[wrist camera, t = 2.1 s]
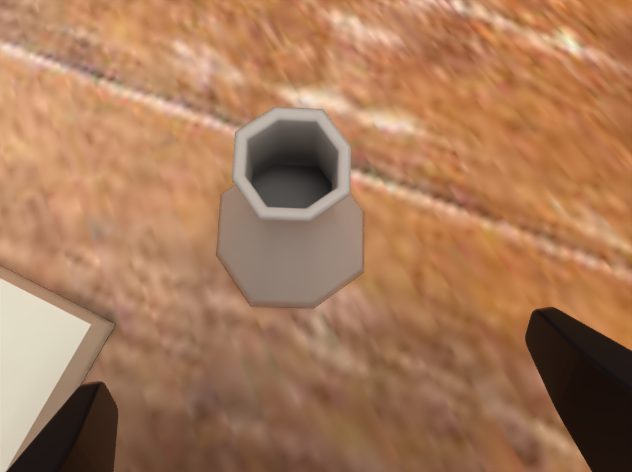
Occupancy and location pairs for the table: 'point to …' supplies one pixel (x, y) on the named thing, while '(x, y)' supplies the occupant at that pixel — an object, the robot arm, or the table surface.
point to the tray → (40, 358)
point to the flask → (290, 211)
